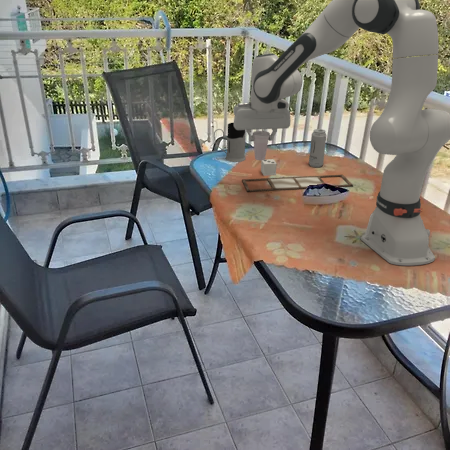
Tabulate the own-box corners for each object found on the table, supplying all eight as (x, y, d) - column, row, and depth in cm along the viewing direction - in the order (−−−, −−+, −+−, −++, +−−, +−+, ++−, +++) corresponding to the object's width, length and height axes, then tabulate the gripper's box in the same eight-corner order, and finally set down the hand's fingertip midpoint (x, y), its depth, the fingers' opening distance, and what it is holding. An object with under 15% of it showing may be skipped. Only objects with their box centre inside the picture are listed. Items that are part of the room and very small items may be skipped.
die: (275, 175, 187) (276, 163, 185) (263, 175, 187) (264, 163, 184) (272, 170, 192) (273, 159, 189) (260, 171, 191) (261, 159, 189)
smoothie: (268, 161, 170) (270, 123, 163) (251, 161, 170) (252, 123, 164) (268, 156, 175) (270, 119, 169) (251, 155, 176) (253, 118, 169)
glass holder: (248, 161, 201) (249, 127, 194) (216, 163, 198) (216, 129, 191) (242, 154, 208) (243, 121, 201) (211, 157, 205) (211, 123, 198)
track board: (353, 186, 178) (353, 185, 178) (247, 192, 172) (247, 190, 172) (342, 175, 187) (342, 174, 187) (242, 180, 182) (242, 179, 182)
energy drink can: (305, 164, 199) (309, 129, 192) (317, 162, 201) (321, 127, 194) (313, 168, 194) (317, 133, 187) (325, 166, 196) (330, 131, 189)
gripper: (235, 105, 159) (234, 144, 165) (293, 103, 162) (290, 142, 168) (232, 101, 164) (231, 139, 171) (288, 99, 167) (285, 137, 174)
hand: (261, 140), depth 169 cm, fingers closed on smoothie, 6 cm apart
